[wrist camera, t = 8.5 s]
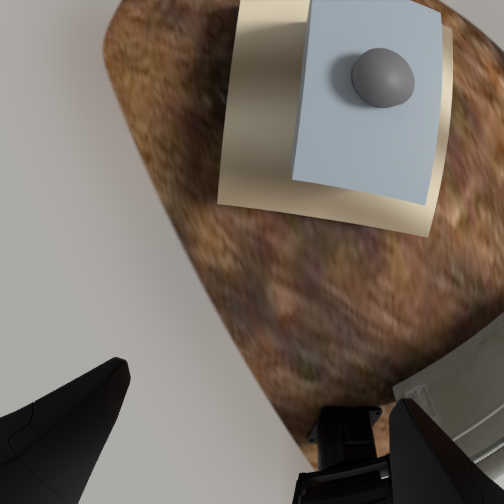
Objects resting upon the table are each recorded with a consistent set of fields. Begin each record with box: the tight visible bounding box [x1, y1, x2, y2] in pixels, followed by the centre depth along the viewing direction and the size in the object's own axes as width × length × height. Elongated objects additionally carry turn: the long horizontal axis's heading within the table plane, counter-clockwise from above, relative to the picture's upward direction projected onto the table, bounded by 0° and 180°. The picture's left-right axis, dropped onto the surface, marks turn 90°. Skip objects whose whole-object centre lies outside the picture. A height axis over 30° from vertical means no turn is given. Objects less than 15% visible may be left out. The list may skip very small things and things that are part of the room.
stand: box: [217, 0, 453, 237], centre depth 14 cm, size 13×12×3 cm
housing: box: [290, 0, 443, 206], centre depth 10 cm, size 8×5×6 cm, turn 174°
